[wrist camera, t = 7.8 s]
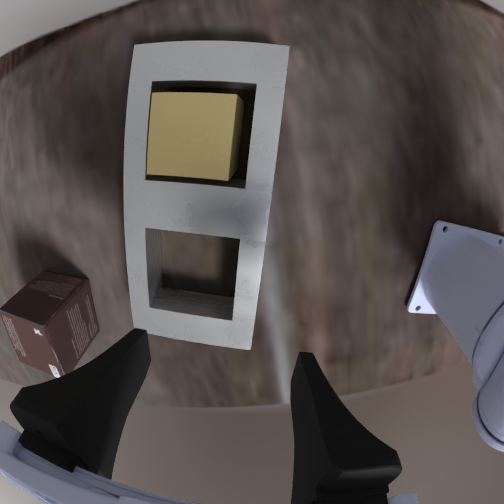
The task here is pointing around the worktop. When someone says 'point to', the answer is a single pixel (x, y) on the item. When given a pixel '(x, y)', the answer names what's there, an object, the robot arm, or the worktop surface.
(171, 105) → the pale yellow wooden cube
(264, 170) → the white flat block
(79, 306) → the box
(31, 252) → the worktop surface
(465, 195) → the worktop surface
